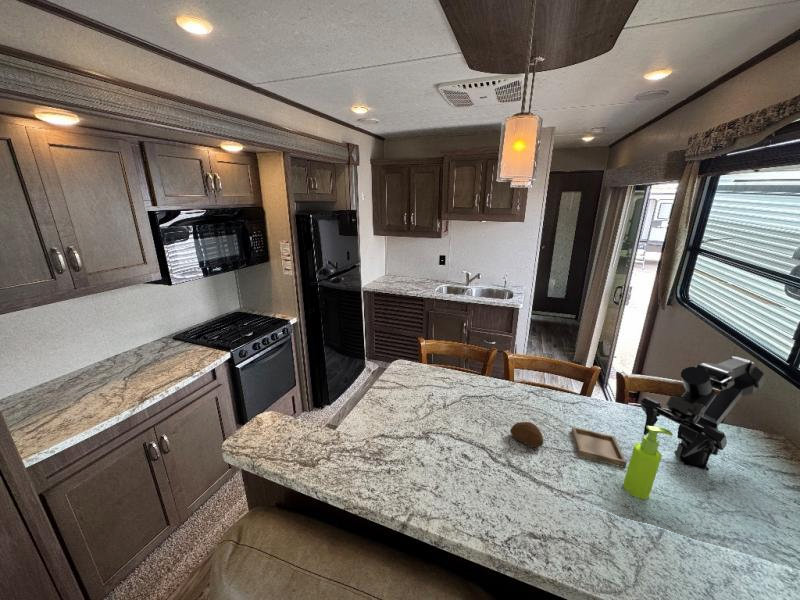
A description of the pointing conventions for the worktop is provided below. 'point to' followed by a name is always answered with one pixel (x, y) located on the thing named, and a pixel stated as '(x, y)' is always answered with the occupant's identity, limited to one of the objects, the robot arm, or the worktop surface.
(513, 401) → the worktop surface
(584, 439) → the tray
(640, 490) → the soap dispenser
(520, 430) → the potato
